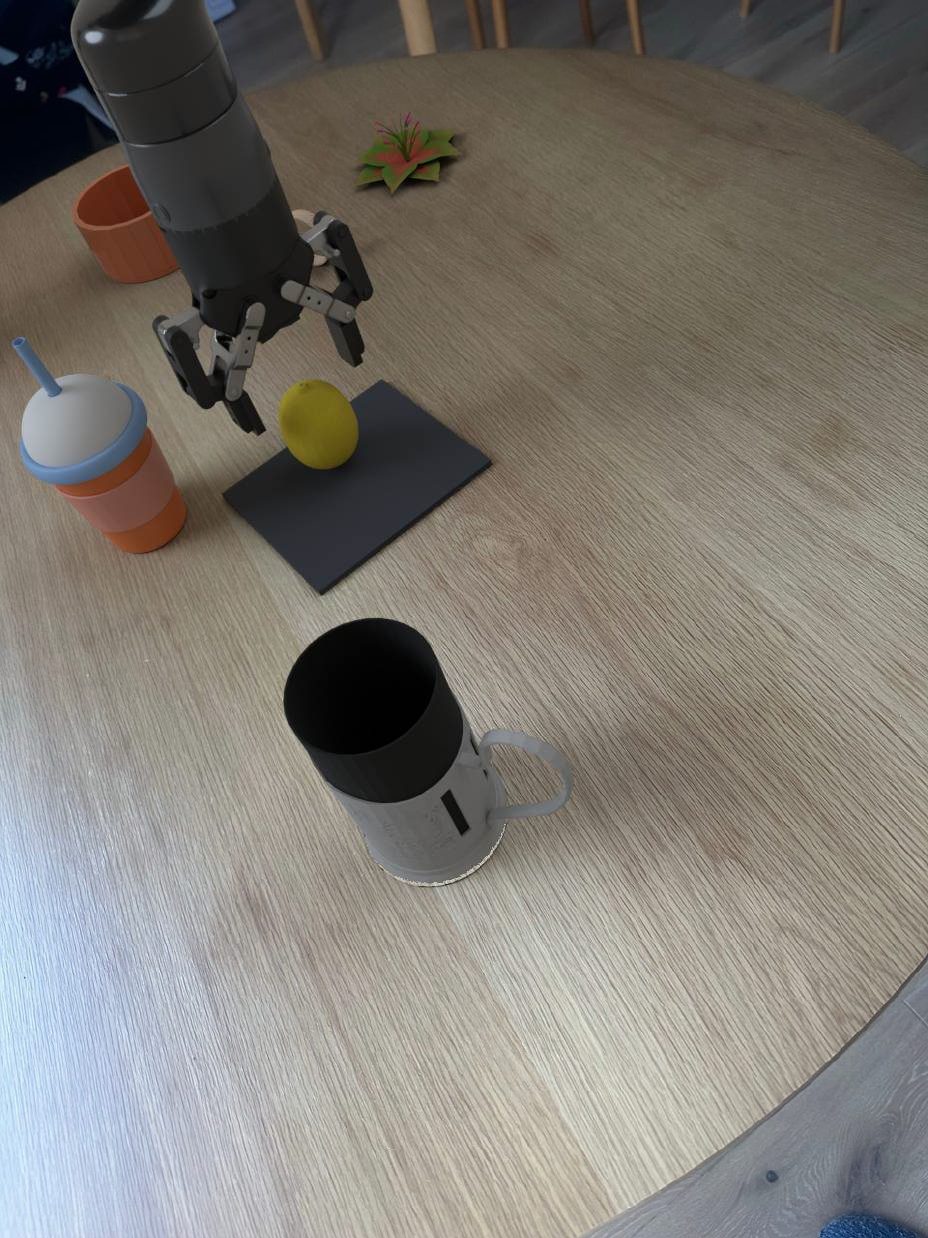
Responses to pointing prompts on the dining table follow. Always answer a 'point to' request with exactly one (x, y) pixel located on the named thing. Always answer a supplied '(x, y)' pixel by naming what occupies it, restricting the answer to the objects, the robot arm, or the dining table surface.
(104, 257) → the cup
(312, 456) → the lemon
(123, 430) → the cup with straw
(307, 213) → the wristwatch
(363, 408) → the mat
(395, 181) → the lily flower
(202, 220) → the robot arm
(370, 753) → the gray and black mug
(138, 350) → the dining table surface
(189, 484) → the dining table surface
